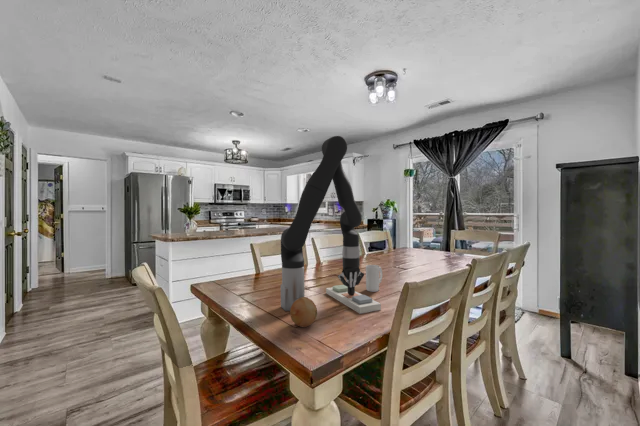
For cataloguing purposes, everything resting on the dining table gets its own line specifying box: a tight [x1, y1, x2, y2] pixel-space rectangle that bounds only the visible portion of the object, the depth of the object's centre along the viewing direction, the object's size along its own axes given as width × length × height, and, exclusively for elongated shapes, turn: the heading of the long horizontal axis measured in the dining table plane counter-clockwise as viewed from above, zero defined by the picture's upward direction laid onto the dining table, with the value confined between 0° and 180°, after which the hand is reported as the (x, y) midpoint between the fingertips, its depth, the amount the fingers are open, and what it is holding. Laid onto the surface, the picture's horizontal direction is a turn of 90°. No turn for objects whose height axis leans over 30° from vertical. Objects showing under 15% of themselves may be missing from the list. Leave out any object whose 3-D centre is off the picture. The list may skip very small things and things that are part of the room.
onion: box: [289, 296, 318, 328], centre depth 104 cm, size 10×10×10 cm
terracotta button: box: [342, 293, 359, 298], centre depth 131 cm, size 6×6×2 cm
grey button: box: [352, 294, 373, 305], centre depth 123 cm, size 6×6×2 cm
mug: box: [365, 264, 383, 293], centre depth 148 cm, size 10×7×12 cm, turn 122°
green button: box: [332, 284, 348, 293], centre depth 139 cm, size 6×6×2 cm
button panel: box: [325, 286, 382, 315], centre depth 131 cm, size 10×30×2 cm, turn 25°
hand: (351, 294), depth 131 cm, fingers closed
